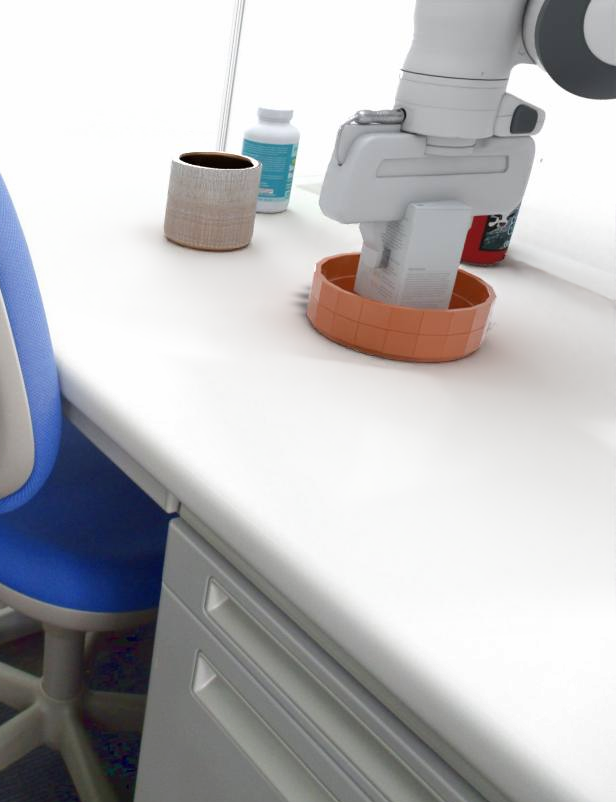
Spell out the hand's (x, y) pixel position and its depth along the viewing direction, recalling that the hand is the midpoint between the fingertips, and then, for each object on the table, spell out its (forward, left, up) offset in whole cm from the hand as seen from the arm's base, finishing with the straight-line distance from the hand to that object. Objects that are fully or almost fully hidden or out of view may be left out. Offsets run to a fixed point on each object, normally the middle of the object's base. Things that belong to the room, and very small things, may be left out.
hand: (407, 263), depth 81 cm
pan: (0, 0, -6) cm, 7 cm away
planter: (+4, -30, -7) cm, 31 cm away
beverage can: (-25, -16, -7) cm, 30 cm away
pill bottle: (-11, -42, -7) cm, 44 cm away
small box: (0, 0, -4) cm, 4 cm away
